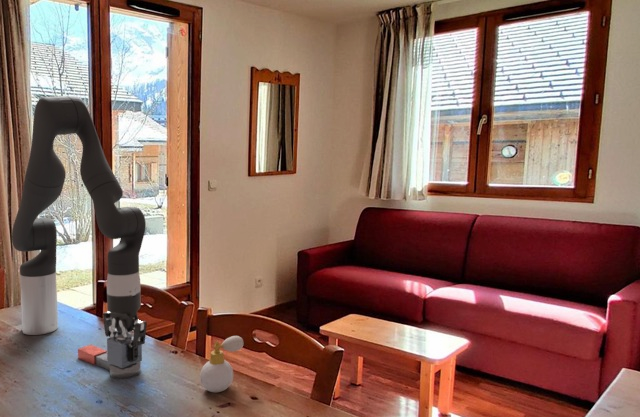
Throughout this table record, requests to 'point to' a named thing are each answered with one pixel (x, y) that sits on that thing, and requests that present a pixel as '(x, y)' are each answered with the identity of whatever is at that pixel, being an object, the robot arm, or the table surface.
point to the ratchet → (100, 359)
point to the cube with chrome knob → (120, 351)
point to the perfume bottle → (220, 366)
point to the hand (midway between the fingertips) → (124, 357)
